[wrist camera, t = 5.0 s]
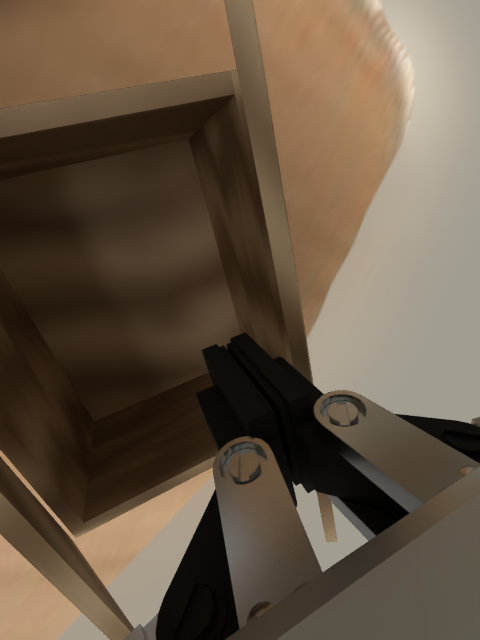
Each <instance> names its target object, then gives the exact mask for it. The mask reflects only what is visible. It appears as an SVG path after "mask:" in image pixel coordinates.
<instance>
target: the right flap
mask: <svg viewBox="0 0 480 640" xmlns="http://www.w3.org/2000/svg"><path fill="white" fill-rule="evenodd" d="M224 2H225V7H226V13H227V18H228V23H229V29H230V34H231V39H232V44H233V50H234V55H235V60H236V66H237V71H238V76H239V82H240V87H241V92H242V98H243V103H244V108H245V113H246V119H247V124H248V129H249V135H250V140H251V145H252V151H253V156H254V161H255V167H256V172H257V177H258V182H259V188H260V193H261V198H262V204H263V209H264V214H265V220H266V225H267V230H268V236H269V241H270V246H271V251H272V257H273V262H274V267H275V273H276V278H277V283H278V289H279V294H280V299H281V305H282V310H283V315H284V320H285V326H286V331H287V336H288V342H289V347H290V352H291V358H292V363H293V367H294V368H295V369H296V370H297V371H298V372H299V373H301V374H302V375H303V376H304V377H305V378H306V379H307V380H308V381H310V382H311V383H312V384H313V378H312V372H311V366H310V359H309V353H308V347H307V340H306V333H305V327H304V321H303V314H302V308H301V302H300V295H299V289H298V282H297V276H296V270H295V263H294V257H293V250H292V244H291V238H290V231H289V225H288V218H287V212H286V206H285V199H284V193H283V186H282V180H281V174H280V167H279V161H278V155H277V148H276V142H275V135H274V129H273V123H272V116H271V110H270V103H269V97H268V91H267V84H266V78H265V72H264V66H263V60H262V54H261V48H260V43H259V37H258V31H257V25H256V19H255V14H254V8H253V2H252V0H224ZM317 496H318V501H319V506H320V511H321V517H322V522H323V528H324V532H325V538H326V542H337V536H336V530H335V523H334V517H333V510H332V503H331V500H330V499H329V497H328V495H327V494H323V493H319V492H317Z"/></svg>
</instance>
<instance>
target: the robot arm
mask: <svg viewBox="0 0 480 640" xmlns="http://www.w3.org/2000/svg"><path fill="white" fill-rule="evenodd" d="M230 340H231V342H230V343H228V344H227V349H228V350H227V349H226V348H225V346H224V345H223V346H220V347H219V346H218V345H217V344H215V345H212V346H210V347H207V348H205V349H202V353H203V356H204V359H205V362H206V365H207V368H208V371H209V374H210V377H211V380H212V383H213V386H211V387H208V388H206V389H204V390H202V391H199V392H197V393H195V394H196V397H197V400H198V402H199V405H200V407H201V410H202V413H203V415H204V418H205V420H206V423H207V425H208V428H209V430H210V433H211V435H212V438H213V440H214V442H215V445H216V447H217V450H218V454H217V455H216V457H215V460H214V463H213V476H214V482H215V487H216V489H215V491H214V493H213V496H212V497H211V500H210V502H209V504H208V506H207V508H206V510H205V512H204V514H203V516H202V519H201V521H200V523H199V525H198V527H197V529H196V531H195V533H194V535H193V538H192V540H191V542H190V544H189V546H188V548H187V550H186V552H185V554H184V556H183V559H182V561H181V563H180V565H179V567H178V569H177V571H176V573H175V575H174V578H173V580H172V582H171V584H170V586H169V588H168V590H167V592H166V594H165V597H164V599H163V602H162V605H161V607H160V610H159V613H158V614H157V615H156V616H155V617H154V618H153V619H152V620H151V621H150V622H149V623H148V624H147V625H146V626H145V627H144V628H143V627H142V626H141V625H140V624H139V625H138V626H137V627H136V628H135V629H134V630H133V631H132V632H131V633H130V634H129V635H127V636H126V637H125V638H124V639H123V640H480V417H478V418H475V419H472V422H471V424H469V423H465V422H460V421H455V420H445V419H437V418H426V417H418V416H409V415H400V414H393V413H391V412H390V411H388V410H386V409H385V408H383V407H381V406H379V405H378V404H376V403H374V402H372V401H371V400H369V399H367V398H365V397H364V396H362V395H360V394H357V393H355V392H351V391H346V390H337V391H332V392H328V393H326V394H323V393H322V392H321V391H320V390H318V389H317V388H316V387H315V386H314V385H313V384H312V383H311V382H310V381H308V380H307V379H306V378H305V377H304V376H303V375H302V374H301V373H299V372H298V371H297V370H296V369H295V368H294V367H293V366H292V365H291V364H289V363H288V362H287V361H286V360H285V359H284V358H282V357H277V358H274V359H273V358H272V357H271V356H270V355H269V354H267V353H266V352H265V351H264V350H263V349H262V348H261V347H260V346H259V345H258V344H257V343H256V342H255V341H254V340H253V339H252V338H251V337H250V336H249V335H248V334H247V333H242V334H239V335H237V336H235V337H232V338H231V339H230ZM292 481H293V483H294V484H295V485H298V484H300V483H301V484H302V485H303V487H304V488H305V490H306V491H307V493H309V492H311V491H312V490H316V491H317V492H319V493H323V494H327V495H328V497H329V499H330V500H331V501H332V503H333V504H334V505H335V506H336V507H337V508H338V509H339V510H340V512H342V514H343V515H344V516H345V517H346V518H347V519H348V520H349V521H350V522H351V523H352V524H353V525H354V526H355V527H356V528H357V529H358V530H359V531H360V532H361V533H362V534H363V536H365V538H366V539H367V540H368V542H367V543H365V544H364V545H362V546H361V547H360V548H358V549H356V550H355V551H354V552H352V553H351V554H349V555H348V556H346V557H345V558H344V559H342V560H340V561H339V562H337V563H336V564H334V565H333V566H331V567H330V568H329V569H327V570H326V571H325V572H322V570H321V567H320V565H319V563H318V560H317V558H316V555H315V553H314V551H313V548H312V546H311V543H310V541H309V538H308V536H307V534H306V531H305V529H304V526H303V524H302V522H301V519H300V517H299V514H298V512H297V510H296V507H297V500H296V496H295V492H294V488H293V483H292Z"/></svg>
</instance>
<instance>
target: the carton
mask: <svg viewBox="0 0 480 640" xmlns="http://www.w3.org/2000/svg"><path fill="white" fill-rule="evenodd" d="M242 333H247V334H248V335H249V336H250V337H251V338H252V339H253V340H254V341H255V342H256V343H257V344H258V345H259V346H260V347H261V348H262V349H263V350H264V351H265V352H266V353H267V354H269V355H270V356H271V357H272V358H273V359H274V358H277V357H282V358H284V359H285V360H286V361H287V362H288V363H289V364H291V365H292V366H293V363H292V358H291V352H290V347H289V342H288V336H287V331H286V326H285V320H284V315H283V310H282V305H281V299H280V294H279V289H278V283H277V278H276V273H275V267H274V262H273V257H272V251H271V246H270V241H269V236H268V230H267V225H266V220H265V214H264V209H263V204H262V198H261V193H260V188H259V182H258V177H257V172H256V167H255V161H254V156H253V151H252V145H251V140H250V135H249V129H248V124H247V119H246V113H245V108H244V103H243V98H242V92H241V87H240V82H239V76H238V71H237V70H232V71H226V72H220V73H214V74H207V75H201V76H195V77H189V78H183V79H177V80H171V81H165V82H159V83H153V84H146V85H140V86H134V87H128V88H122V89H116V90H110V91H104V92H98V93H92V94H86V95H79V96H73V97H67V98H61V99H55V100H49V101H43V102H37V103H31V104H25V105H18V106H12V107H6V108H0V450H1V451H2V452H3V453H4V454H5V456H6V457H7V458H8V459H9V460H10V461H11V463H12V464H13V465H14V466H15V467H16V468H17V470H18V471H19V472H20V473H21V474H22V476H23V477H24V478H25V479H26V480H27V481H28V483H29V484H30V485H31V486H32V487H33V488H34V490H35V491H36V492H37V493H38V494H39V495H40V497H41V498H42V499H43V500H44V501H45V503H46V504H47V505H48V506H49V507H50V508H51V510H52V511H53V512H54V513H55V514H56V515H57V517H58V518H59V519H60V520H61V521H62V523H63V524H64V525H65V526H66V527H67V528H68V530H69V531H70V532H71V533H72V534H73V535H74V537H75V538H77V537H79V536H81V535H83V534H85V533H87V532H89V531H91V530H93V529H95V528H97V527H99V526H100V525H102V524H104V523H106V522H108V521H110V520H112V519H114V518H116V517H118V516H120V515H122V514H124V513H125V512H127V511H129V510H131V509H133V508H135V507H137V506H139V505H141V504H143V503H145V502H147V501H149V500H150V499H152V498H154V497H156V496H158V495H160V494H162V493H164V492H166V491H168V490H170V489H172V488H174V487H176V486H177V485H179V484H181V483H183V482H185V481H187V480H189V479H191V478H193V477H195V476H197V475H199V474H201V473H202V472H204V471H206V470H208V469H210V468H212V467H213V463H214V460H215V457H216V455H217V454H218V450H217V447H216V445H215V442H214V440H213V438H212V435H211V433H210V430H209V428H208V425H207V423H206V420H205V418H204V415H203V413H202V410H201V407H200V405H199V402H198V400H197V397H196V394H195V393H197V392H199V391H202V390H204V389H206V388H208V387H211V386H213V383H212V380H211V377H210V374H209V371H208V368H207V365H206V362H205V359H204V356H203V353H202V349H205V348H207V347H210V346H212V345H215V344H217V345H218V346H219V347H220V346H223V345H224V346H225V348H226V349H227V344H228V343H230V342H231V340H230V339H231V338H232V337H235V336H237V335H239V334H242ZM227 350H228V349H227Z"/></svg>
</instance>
